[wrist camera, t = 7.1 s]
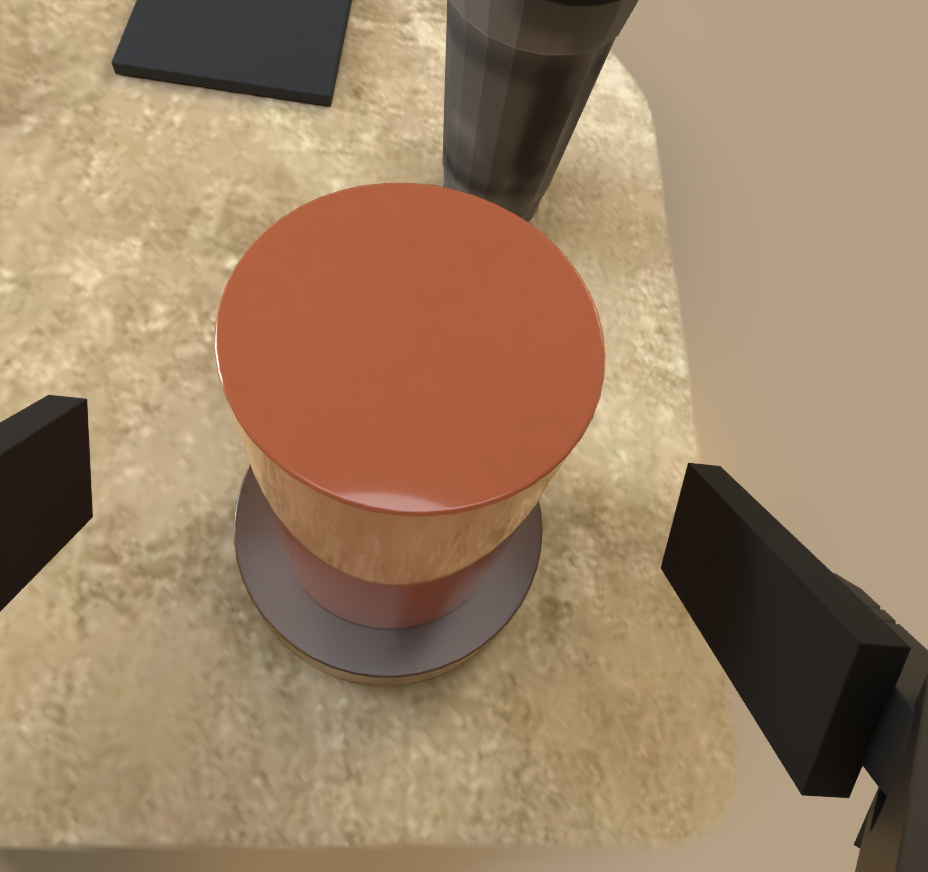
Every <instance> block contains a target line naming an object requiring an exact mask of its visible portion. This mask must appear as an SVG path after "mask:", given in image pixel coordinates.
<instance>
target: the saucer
mask: <svg viewBox="0 0 928 872" xmlns="http://www.w3.org/2000/svg"><path fill="white" fill-rule="evenodd" d="M541 542H542V518H541V509H540V504H539V501H538V502H537V504H536V505H535V507H534V508H533V510H532V511H531V513H530V514H529V516H528V517H527V518H526V520H525V521H524V523H523V524H522V526H521V527H520V529H519V530H518V532H517V533H516V535H515V536H514V537H513V539H512V540H511V542H510V543H509V545H508V546H507V548H506V549H505V551H504V552H503V554H502V555H501V556H500V558H499V559H498V561H497V562H496V564H495V565H494V567H493V568H492V570H491V571H490V573H489V574H488V575H487V577H486V578H485V580H484V581H483V582H482V584H481V585H480V586H479V588H478V589H477V590H476V591H475V592H474V593H473V594H472V595H471V596H470V597H469V598H468V599H467V600H466V601H465V602H464V603H463V604H461V605H460V606H459V607H457V608H456V609H455V610H453V611H452V612H450V613H448V614H446V615H445V616H443V617H441V618H439V619H436V620H434V621H431V622H429V623H426V624H422V625H418V626H414V627H409V628H400V629H379V628H373V627H366V626H362V625H359V624H355V623H352V622H349V621H347V620H345V619H343V618H340V617H338V616H336V615H334V614H333V613H331V612H329V611H328V610H326V609H325V608H323V607H322V606H321V605H319V604H318V603H317V602H316V601H315V600H313V599H312V598H311V597H310V596H309V595H308V594H307V592H306V591H305V590H304V589H303V588H302V587H301V586H300V584H299V583H298V581H297V580H296V578H295V577H294V575H293V574H292V571H291V569H290V567H289V565H288V563H287V561H286V559H285V556H284V553H283V551H282V548H281V545H280V543H279V540H278V537H277V534H276V532H275V529H274V526H273V524H272V521H271V518H270V516H269V513H268V510H267V508H266V505H265V502H264V499H263V497H262V494H261V491H260V489H259V486H258V483H257V481H256V478H255V475H254V473H253V470H252V467H251V464H250V466H249V468H248V470H247V473H246V475H245V477H244V480H243V482H242V485H241V488H240V492H239V495H238V499H237V503H236V510H235V518H234V545H235V551H236V558H237V563H238V567H239V570H240V573H241V577H242V580H243V583H244V585H245V587H246V589H247V591H248V593H249V595H250V598H251V600H252V601H253V603H254V604H255V606H256V607H257V609H258V611H259V612H260V614H261V615H262V617H263V618H264V620H265V621H266V623H267V624H268V626H269V627H270V628H271V630H272V631H273V632H274V634H275V635H276V636H277V637H278V638H279V639H280V640H281V641H282V643H283V644H284V645H285V646H286V647H287V648H289V649H290V650H291V651H292V652H293V653H294V654H296V655H297V656H298V657H299V658H300V659H302V660H304V661H305V662H307V663H308V664H310V665H311V666H313V667H315V668H316V669H318V670H320V671H323V672H325V673H327V674H329V675H332V676H334V677H337V678H340V679H343V680H347V681H350V682H354V683H360V684H367V685H374V686H395V685H403V684H410V683H416V682H419V681H423V680H427V679H430V678H434V677H436V676H438V675H441V674H443V673H445V672H448V671H450V670H452V669H454V668H455V667H457V666H459V665H460V664H462V663H464V662H465V661H467V660H469V659H470V658H471V657H472V656H474V655H475V654H476V653H477V652H479V651H480V650H481V649H482V648H483V647H485V646H486V645H487V644H488V643H489V642H490V641H491V640H492V639H493V638H494V637H495V636H496V635H497V634H498V633H499V632H500V631H501V630H502V629H503V628H504V627H505V626H506V625H507V624H508V623H509V621H510V620H511V619H512V617H513V616H514V614H515V613H516V612H517V610H518V609H519V607H520V606H521V604H522V602H523V601H524V599H525V597H526V595H527V593H528V591H529V589H530V587H531V584H532V581H533V579H534V576H535V573H536V570H537V566H538V562H539V557H540V552H541Z"/></svg>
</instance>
